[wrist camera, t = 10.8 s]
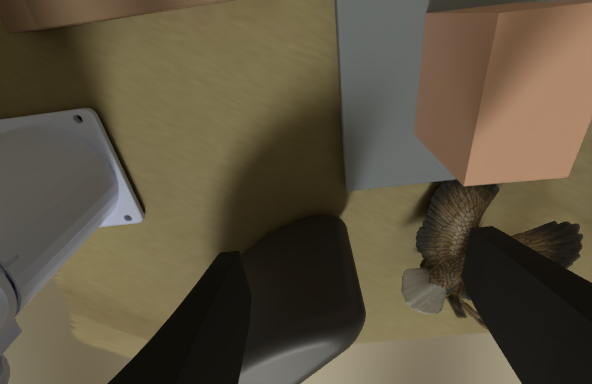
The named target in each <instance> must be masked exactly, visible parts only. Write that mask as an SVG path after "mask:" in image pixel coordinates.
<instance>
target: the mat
mask: <svg viewBox="0 0 592 384" xmlns="http://www.w3.org/2000/svg"><path fill="white" fill-rule="evenodd" d="M540 1H561V0H335V15H336V34H337V52H338V70H339V89H340V107H341V125H342V144H343V162H344V180H345V187H346V190H347V191H353V190H363V189H372V188H381V187H390V186H399V185H409V184H418V183H427V182H436V181H445V180H454V179H456V178H455V177H454V176H453V175H452V174H451V173H450V172H449V171H448V170H447V169H446V167H445V166H444V165H443V164H442V163H441V162H440V161H439V160H438V159H437V158H436V157H435V156H434V155H433V154H432V153H431V152H430V151H429V150H428V149H427V148H426V147H425V146H424V145H423V144H422V142H421V141H420V140H419V139H418V138H417V137H416V136H415V135H414V128H415V118H416V108H417V98H418V88H419V77H420V67H421V57H422V47H423V37H424V27H425V16H426V13H431V12H440V11H448V10H457V9H465V8H474V7H482V6H490V5H499V4H507V3H519V2H540Z"/></svg>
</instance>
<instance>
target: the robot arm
mask: <svg viewBox="0 0 592 384" xmlns="http://www.w3.org/2000/svg"><path fill="white" fill-rule="evenodd" d="M77 115H79V116H81V118H82V120H83V121H81V120H79V119H78V117H77ZM127 215H129V216H131V218H130V217H128V216H127ZM143 219H144V213H143V210H142V208H141V206H140V204H139V202H138V200H137V198H136V196H135V193H134V191H133V189H132V187H131V185H130V183H129V181H128V178H127V176H126V174H125V172H124V170H123V168H122V166H121V164H120V161H119V159H118V157H117V155H116V153H115V151H114V149H113V146H112V144H111V142H110V140H109V138H108V136H107V134H106V132H105V129H104V127H103V125H102V123H101V121H100V119H99V117H98V115H97V113H96V112H95V111H94V110H93V109H90V108H80V109H73V110H65V111H58V112H50V113H43V114H36V115H28V116H21V117H14V118H6V119H0V384H8V381H9V377H10V367H9V364H8V361H7V359H6V357H5V356H4V355H3V353H4V352H5V351H6V349H7V348H8V347H9V346H10V345H11V344H12V342H13V341H14V340H15V339H16V338H17V337H18V336H19V334H20V333H21V332H22V330H21V328H20V327H19V326H18V324H17V322H16V320H15V317H16V315H17V314H18V313H19V312H20V311H21V310H22V309H23V308H24V307H25V306H26V305H27V304H28V303H29V302H30V300H31V299H32V298H33V297H34V296H35V295H36V294H37V293H38V292H39V291H40V290H41V289H42V288H43V286H44V285H45V284H46V283H47V282H48V281H49V280H50V279H51V278H52V277H53V276H54V275H55V274H56V272H57V271H58V270H59V269H60V268H61V267H62V266H63V265H64V264H65V263H66V262H67V261H68V260H69V258H70V257H71V256H72V255H73V254H74V253H75V252H76V251H77V250H78V249H79V248H80V247H81V246H82V244H83V243H84V242H85V241H86V240H87V239H88V238H89V237H90V236H91V235H92V234H93V233H94V232H95V230H96V229H97V228H98V227H104V226H114V225H123V224H132V223H139V222H141V221H142V220H143ZM461 277H462V280H463V282H464V284H465V287H466V289H467V291H468V293H469V296H470V298H471V300H472V302H473V304H474V306H475V308H476V310H477V311H478V313H479V315H480V317H481V318H482V320H483V321H484V323H485V325H486V326H487V328H488V330H489V331H490V333H491V335H492V336H493V338H494V339H495V341H496V343H497V344H498V346H499V348H500V349H501V351H502V352H503V354H504V356H505V357H506V358H507V360H508V362H509V364H510V365H511V367H512V369H513V370H514V372H515V373H516V375H517V377H518V378H519V380H520V381H521V383H522V384H592V283H591V282H589V281H587V280H585V279H584V278H582V277H580V276H578V275H576V274H575V273H573V272H571V271H569V270H567V269H566V268H564V267H562V266H561V265H559V264H557V263H555V262H554V261H552V260H550V259H548V258H547V257H545V256H543V255H542V254H540V253H538V252H536V251H535V250H533V249H531V248H530V247H528V246H526V245H525V244H523V243H521V242H519V241H518V240H516V239H514V238H513V237H511V236H509V235H507V234H506V233H504V232H502V231H500V230H498V229H497V228H495V227H493V226H489V227H478V228H471V231H470V236H469V241H468V246H467V251H466V256H465V260H464V265H463V270H462V275H461ZM251 297H252V294H251V291H250V288H249V284H248V281H247V277H246V274H245V271H244V267H243V264H242V261H241V257H240V254H239V251H233V252H223V253H219V255H218V256H217V257H216V258H215V260H214V261H213V262H212V264H211V265H210V266H209V268H208V269H207V270H206V272H205V273H204V274H203V276H202V277H201V278H200V280H199V281H198V282H197V284H196V285H195V286H194V288H193V289H192V290H191V291H190V293H189V294H188V295H187V297H186V298H185V299H184V300H183V302H182V303H181V304H180V305H179V307H178V308H177V309H176V310H175V312H174V313H173V314H172V315H171V316H170V318H169V319H168V320H167V321H166V322H165V323H164V324H163V326H162V327H161V328H160V329H159V330H158V331H157V333H156V334H155V335H154V336H153V337H152V338H151V340H150V341H149V342H148V343H147V344H146V345H145V346H144V347H143V348H142V349H141V350H140V351H139V353H138V354H137V355H136V356H135V357H134V358H133V359H132V360H131V361H130V362H129V363H128V364H127V365H126V366H125V367H124V368H123V369H122V370H121V371H120V372H119V373H118V374H117V375H116V376H115V377H114V378H113V379H112V380H111V381H110V382H109V383H108V384H238V382H239V377H240V372H241V367H242V362H243V357H244V352H245V346H246V341H247V336H248V330H249V324H250V312H251Z"/></svg>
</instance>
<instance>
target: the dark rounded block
mask: <svg viewBox="0 0 592 384" xmlns="http://www.w3.org/2000/svg"><path fill="white" fill-rule="evenodd" d="M241 261H242V264H243V267H244V271H245V274H246V277H247V281H248V284H249V288H250V291H251V294H252V297H251V312H250V324H249V330H248V336H247V341H246V346H245V352H244V357H243V362H242V367H241V372H240V377H239V382H238V384H300V383H301V382H303V381H304V380H306V379H307V378H308V377H310V376H311V375H312V374H314V373H315V372H317V371H318V370H319V369H321V368H322V367H323V366H324V365H326V364H327V363H329V362H330V361H332V360H333V359H334V358H336V357H337V356H338V355H340V354H341V353H342V352H344V351H345V350H346V349H348V348H349V347H350V346H351V345H352V344H353V342H354V341H355V340H356V338H357V337H358V335H359V334H360V332H361V330H362V327H363V325H364V322H365V317H366V312H365V306H364V302H363V298H362V293H361V289H360V285H359V280H358V276H357V271H356V267H355V263H354V258H353V254H352V249H351V245H350V241H349V236H348V232H347V227H346V225H345V223H344V222H343V221H342V220H341V219H340V218H339V217H336V216H332V215H317V216H312V217H308V218H305V219H302V220H299V221H296V222H294V223H291V224H289V225H287V226H285V227H283V228H280V229H278V230H277V231H275V232H273V233H271V234H270V235H268V236H267V237H265V238H263V239H262V240H261V241H259V242H258V243H256V244H255V245H254V246H253V247H251V248H250V249H249V250H248V251H247V252H246V253H245V254H244V255H243V256H242V257H241Z"/></svg>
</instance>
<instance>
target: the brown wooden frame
mask: <svg viewBox="0 0 592 384" xmlns="http://www.w3.org/2000/svg"><path fill="white" fill-rule="evenodd" d="M226 1H233V0H0V18H1V20H2V22H3V23H4V25H5V27H6V29H7V31H8V33H22V32H34V31H41V30H47V29H53V28H60V27H66V26H73V25H79V24H85V23H92V22H98V21H105V20H111V19H117V18H124V17H130V16H137V15H143V14H150V13H156V12H162V11H169V10H175V9H182V8H188V7H194V6H201V5H207V4H214V3H220V2H226Z"/></svg>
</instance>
